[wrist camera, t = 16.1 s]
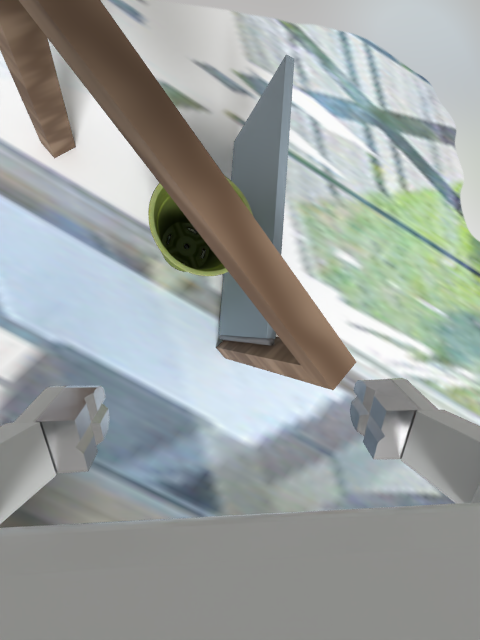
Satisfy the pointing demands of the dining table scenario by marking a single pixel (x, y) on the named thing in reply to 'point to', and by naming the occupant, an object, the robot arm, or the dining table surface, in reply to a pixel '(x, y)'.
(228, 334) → the door
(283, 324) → the door frame
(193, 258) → the plant pot
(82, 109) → the dining table surface
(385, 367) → the dining table surface
